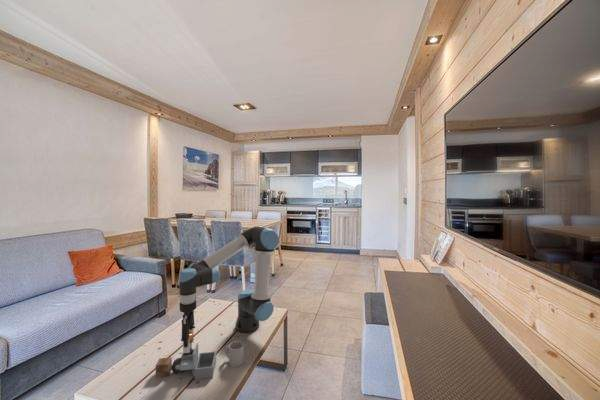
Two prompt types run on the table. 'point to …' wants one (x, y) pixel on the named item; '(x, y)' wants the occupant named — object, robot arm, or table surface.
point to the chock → (163, 367)
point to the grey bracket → (186, 362)
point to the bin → (205, 365)
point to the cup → (235, 353)
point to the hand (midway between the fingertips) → (188, 347)
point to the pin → (190, 342)
